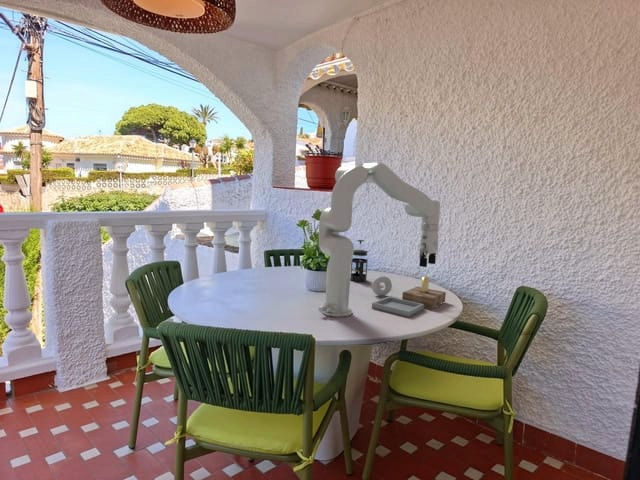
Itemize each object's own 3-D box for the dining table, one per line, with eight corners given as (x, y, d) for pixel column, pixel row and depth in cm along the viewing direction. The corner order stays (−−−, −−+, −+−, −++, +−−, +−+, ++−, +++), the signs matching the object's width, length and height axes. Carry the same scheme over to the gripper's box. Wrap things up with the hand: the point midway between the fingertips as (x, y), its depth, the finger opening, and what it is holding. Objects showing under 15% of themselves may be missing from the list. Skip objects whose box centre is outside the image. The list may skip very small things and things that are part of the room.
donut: (372, 296, 184) (373, 276, 183) (370, 294, 187) (371, 274, 186) (392, 296, 186) (393, 276, 184) (389, 294, 189) (391, 274, 188)
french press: (348, 278, 222) (350, 238, 219) (364, 278, 223) (366, 239, 220) (352, 283, 210) (354, 241, 207) (369, 283, 211) (371, 241, 209)
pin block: (431, 309, 167) (432, 298, 166) (401, 303, 175) (402, 292, 175) (444, 302, 179) (445, 292, 179) (416, 296, 188) (417, 286, 187)
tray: (408, 317, 155) (408, 311, 154) (371, 308, 165) (372, 302, 165) (423, 309, 166) (424, 304, 166) (388, 301, 177) (388, 296, 177)
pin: (425, 304, 175) (427, 278, 174) (419, 302, 177) (421, 277, 176) (428, 302, 178) (430, 277, 176) (421, 301, 180) (423, 276, 178)
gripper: (430, 229, 164) (427, 269, 166) (445, 227, 178) (442, 263, 180) (413, 228, 169) (411, 266, 171) (429, 225, 182) (427, 261, 185)
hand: (427, 265), depth 175 cm, fingers open, 9 cm apart
